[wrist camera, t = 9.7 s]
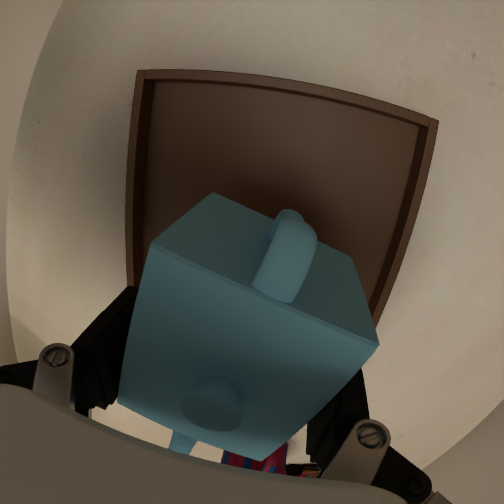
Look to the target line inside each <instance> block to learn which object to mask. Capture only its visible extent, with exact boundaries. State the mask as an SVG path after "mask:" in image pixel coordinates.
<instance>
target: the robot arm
mask: <svg viewBox="0 0 504 504" xmlns="http://www.w3.org/2000/svg"><path fill="white" fill-rule="evenodd" d="M138 290H139V288H138V287H134V286H130V285H129V286H127V287H126V288H125V289H124V290H123V291H122V292H121V294H120V295H119V296H118V297H117V298H116V299H115V300H114V301H113V302H112V303H111V304H110V305H109V306H108V307H107V308H106V309H105V310H104V311H102V312H101V313H100V314H99V315H98V316H97V318H96V319H95V320H94V321H93V322H92V323H91V324H90V325H89V326H88V327H87V328H86V329H85V331H84V332H83V333H82V334H81V335H80V336H79V337H78V338H77V339H76V340H75V342H74V343H73V344H72V345H71V346H70V347H69V346H68V345H66V344H62V343H54V344H51V345H48V346H47V347H45V348H44V349H43V350H42V351H41V353H40V355H39V359H38V360H33V361H28V362H22V363H16V364H11V365H4V366H1V367H0V504H452V503H450V502H449V501H448V500H447V499H446V498H445V497H444V496H443V495H441V494H440V493H439V492H438V491H437V492H436V493H434V492H433V491H432V484H431V480H430V479H429V477H428V476H427V475H426V474H425V473H424V472H423V471H421V470H420V469H419V468H418V467H416V466H415V465H414V464H412V463H411V462H410V461H408V460H407V459H406V458H405V457H403V456H402V455H401V454H399V453H398V452H397V451H396V450H394V449H393V448H392V447H391V446H389V445H390V441H391V436H390V432H389V430H388V429H387V428H386V426H385V425H384V424H382V423H380V422H379V421H376V420H373V419H370V417H369V410H368V403H367V396H366V390H365V384H364V378H363V372H362V369H361V368H360V369H359V370H358V372H357V373H356V374H355V375H354V376H353V377H352V378H351V379H350V380H349V381H348V383H347V384H346V385H345V386H344V387H343V388H342V389H341V390H340V391H339V392H338V393H337V394H336V395H335V396H334V397H333V398H332V399H331V400H330V401H329V402H328V403H327V404H326V405H325V406H324V407H323V408H322V409H321V410H320V411H319V412H318V413H317V414H316V415H315V416H314V417H313V418H312V419H311V420H310V421H309V422H308V423H307V443H306V454H307V455H310V462H312V463H317V466H318V467H319V468H320V469H321V470H320V472H319V473H318V475H317V476H316V477H315V478H306V477H297V476H289V475H282V474H275V473H268V472H262V471H256V470H250V469H245V468H240V467H235V466H230V465H226V464H221V463H217V462H213V461H209V460H205V459H201V458H197V457H193V456H190V455H186V454H183V453H180V452H176V451H173V450H170V449H167V448H164V447H160V446H158V445H155V444H152V443H149V442H146V441H143V440H141V439H138V438H135V437H132V436H130V435H127V434H125V433H122V432H120V431H117V430H115V429H112V428H110V427H108V426H105V425H103V424H101V423H99V422H96V421H94V420H92V408H95V406H97V407H100V408H102V409H104V410H106V408H107V407H108V405H109V404H110V405H112V404H113V403H114V402H115V400H116V398H117V397H118V390H119V384H120V377H121V371H122V365H123V359H124V353H125V348H126V343H127V338H128V333H129V328H130V324H131V319H132V315H133V310H134V306H135V302H136V298H137V294H138Z"/></svg>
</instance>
